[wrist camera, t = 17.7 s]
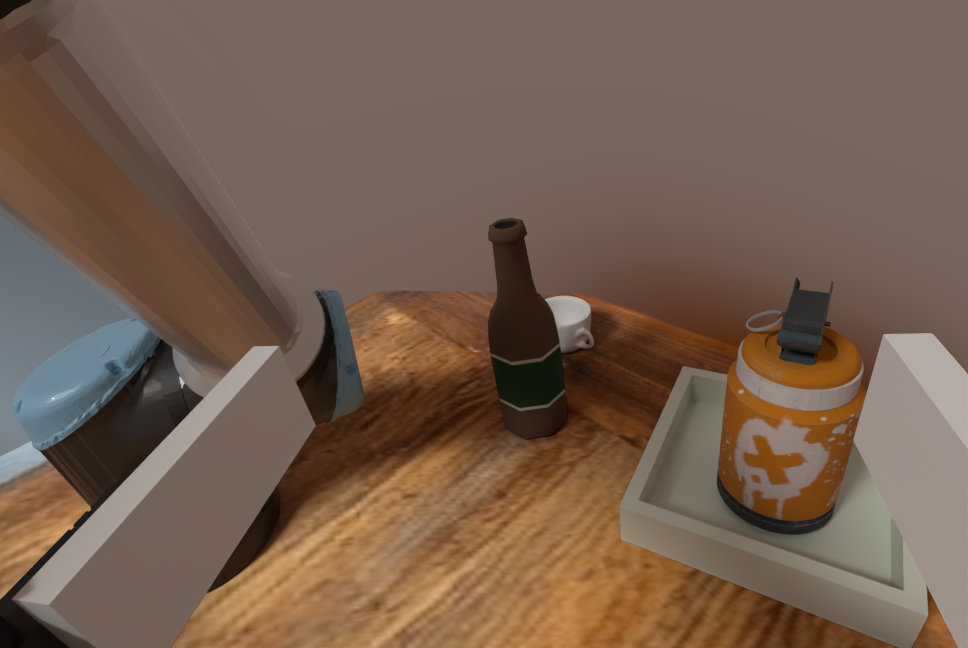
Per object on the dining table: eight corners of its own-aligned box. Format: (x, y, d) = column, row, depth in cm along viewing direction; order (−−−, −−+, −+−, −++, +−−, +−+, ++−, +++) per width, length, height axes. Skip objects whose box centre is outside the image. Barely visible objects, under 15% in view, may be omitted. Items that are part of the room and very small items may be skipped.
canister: (704, 514, 45) (721, 320, 35) (734, 431, 52) (755, 249, 42) (826, 558, 40) (889, 347, 30) (840, 459, 48) (894, 262, 37)
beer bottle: (582, 424, 58) (564, 222, 46) (521, 452, 56) (483, 250, 44) (548, 386, 64) (524, 201, 52) (492, 411, 63) (452, 224, 50)
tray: (620, 539, 46) (619, 506, 43) (681, 397, 59) (683, 366, 57) (909, 651, 35) (928, 615, 33) (903, 448, 49) (916, 412, 46)
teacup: (525, 343, 73) (520, 310, 70) (568, 321, 76) (565, 289, 73) (570, 376, 66) (567, 341, 63) (616, 351, 68) (615, 316, 65)
